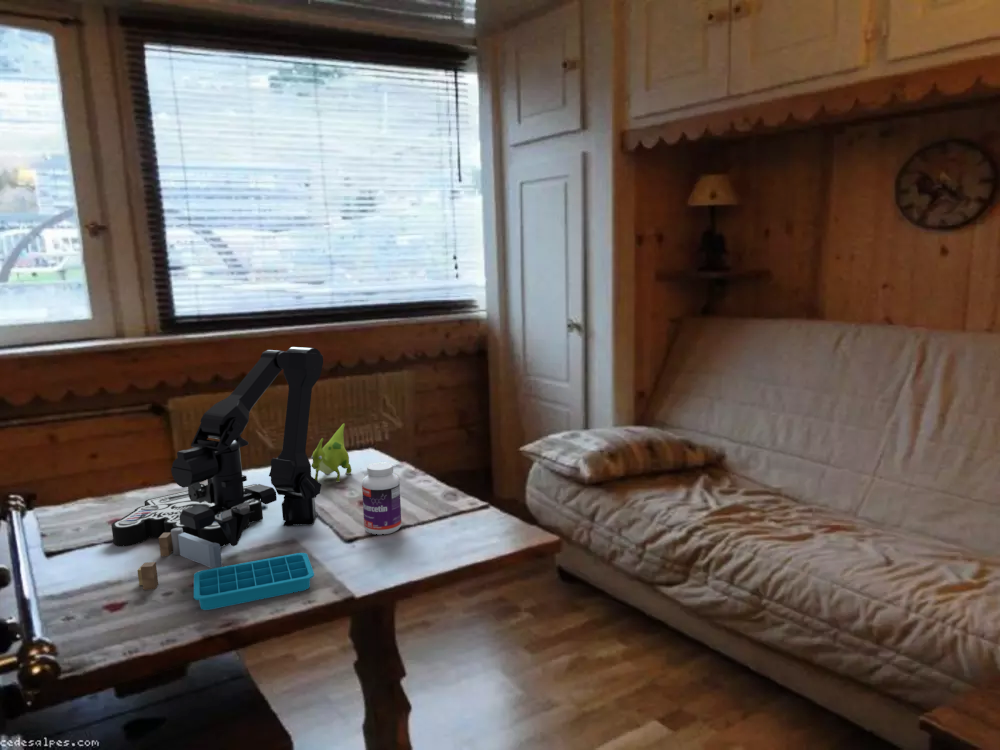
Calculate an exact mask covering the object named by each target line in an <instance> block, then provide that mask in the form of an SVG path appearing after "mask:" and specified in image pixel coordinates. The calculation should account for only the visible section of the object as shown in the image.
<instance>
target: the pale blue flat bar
mask: <svg viewBox="0 0 1000 750" xmlns="http://www.w3.org/2000/svg"><path fill="white" fill-rule="evenodd" d="M171 537H172V545H173V552H172V553H173V555H175V556H180V557H183V558H185V559H188V560H190V561H193V562H196V563H198V564H200V565H203V566H206V567H207V568H208V567H209V569H213V568H218V567H223V562H222V553H221V547H220V544H218V543H212V542H209V541H207V540H204V539H201V538H198V537H196V536H193V535H190V534H187V533H185V532H184V533H183V528H174V529H172V530H171Z"/></svg>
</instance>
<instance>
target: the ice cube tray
mask: <svg viewBox="0 0 1000 750" xmlns="http://www.w3.org/2000/svg"><path fill="white" fill-rule="evenodd" d="M314 577H315V571H314V569H313V567H312V563H311V561H310V558H309V555H308V553H305V552H295V553H292V554H286V555H279V556H275V557H274V556H273V557H268V558H264V559H258V560H252V561H247V562H241V563H236V564H235V563H234V564H231V565H225V566H222V567H218V568H208V569H203V570H199V571H196V572H194V574H193V599H194V600H195V601H198V602H199V606H200V609H201V610H202V609H203V611H209V610H210V611H211V610H215V609H219V608H223V607H224V608H225V607H230V606H234V605H239V604H244V603H249V602H254V601H259V599H260V600H263V599H264V598H265V599H269V598H273V597H278V596H283V595H289V594H293V592H294V593H299V592H303V591H306V589H307V590H308V589H309V587H310V588H311V579H312V578H314ZM298 591H299V592H298Z"/></svg>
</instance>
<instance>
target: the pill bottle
mask: <svg viewBox="0 0 1000 750" xmlns="http://www.w3.org/2000/svg"><path fill="white" fill-rule="evenodd" d="M366 472H367V474H366V475H365V477H363V479H362V481H361V488H362V490H361V491H362V492H361V493H362V507H363V508H362V511H363V527H364V529H365V531H366V532H367V533H369V534H371V533H372V534H371V535H376V534H377V536H378V535H379V536H381V535H382V534H384V535H389V534H392V533H395V532H397V531H398V530H399V529H401V526H402V507H401V505H402V504H401V485H400V484H401V483H400V478H399V476H398V475H397V474H396V473H393V472H394V464H393V463H392V462H385V461H381V462H373V463H370V464H368V465H367V467H366ZM382 536H383V535H382Z"/></svg>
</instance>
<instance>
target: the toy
mask: <svg viewBox="0 0 1000 750" xmlns="http://www.w3.org/2000/svg"><path fill="white" fill-rule="evenodd" d="M345 425H346V424H345V423H342V424H341V426H340V427H339V428H338V429H337V430H336V431H335V433H334V434H333V435H332V437H330V439H329V440H328V441H327V442H326V443H325V444H324V445H323V441H324V438H323V437H321V439H320V440H319V442H318V444H317V446H316V448H315V450H313V452H312V455H311V457H310V458H311V460H312V463H311V468H312V469H313V470H315V475H314V479H315V480H316V481H318V482H319V480H318V478H319V472H321V473H323V474H326V475H330V474H332V473H334V472H335V473H336V474H337V475H336V476H337V477H336V481H335V483H336V482H340V477H341V472H340V470H339V467H341V468H342V469H346V471H345V475H347V474H348V475H351V473H352V470H353V469H352V467H351V464H350V457H349V456H350V455H349V453H348V452H347V450H346V448H345V440H344V439H345V438H344V433H345V431H344V430H345ZM340 483H341V482H340Z"/></svg>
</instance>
